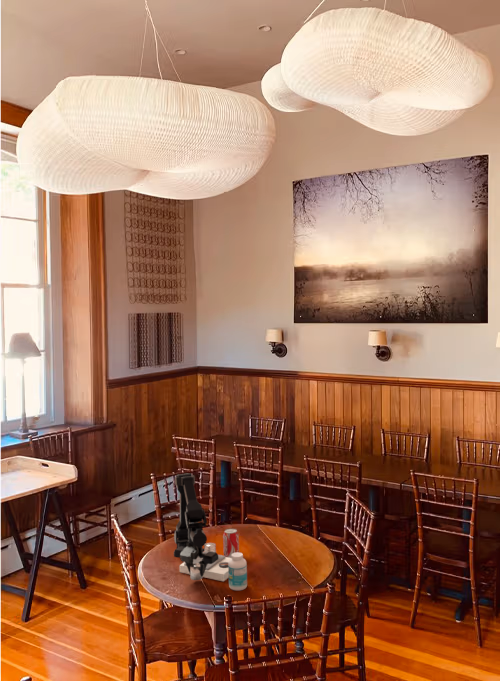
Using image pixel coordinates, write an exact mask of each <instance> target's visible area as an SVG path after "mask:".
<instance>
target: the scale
mask: <svg viewBox="0 0 500 681" xmlns="http://www.w3.org/2000/svg"><path fill="white" fill-rule="evenodd" d="M203 553H204V554H205V551H204V552H203ZM230 559H232V558H228V557H225V556H224V554H223V555H222V554H218V560H217V561H215V562H214V563H212V564H208V565H207V567H206V569H205V572H204V574H203V578H205V579H206V578H207V579H210V580H215V581H220V582H225V581H227V579H229V570H228V562H229V560H230ZM200 561H202V559H201V558H198V557H197V559H196V560H194V559H193V564H194V563H199V562H200ZM179 572H180V573H183V574H187V575H190V573H189V570H188V568H187V565H186V563H185V562H182V563H181V564H179Z"/></svg>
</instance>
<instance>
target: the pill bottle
mask: <svg viewBox="0 0 500 681" xmlns="http://www.w3.org/2000/svg"><path fill="white" fill-rule="evenodd" d="M231 558H232V559H230V560H229V562H228V570H229V578H228V587H229V588H230V590H232V591H243V590H245V589H246V588H247V586H248V568H247V567H248V565H247V563H248V562H247V560H246V559H245V558H244V555H243V553H242V552H240V551H239V552H236V553H233V554H232V555H231Z"/></svg>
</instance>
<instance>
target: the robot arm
mask: <svg viewBox="0 0 500 681" xmlns="http://www.w3.org/2000/svg"><path fill="white" fill-rule="evenodd" d="M174 485H175V486H176V488H177V491H178V493H179V520H178V523H177V524H176V527H175V529H176V530H174V535H173V539H174V543H175V545H176V549H174V551H173V557H174V558H177V559H178V558H179V559H180V560H181V562H182V563H184V562H185V563H186V565H187V568H188V570H189V573H190V565H191V564H193V559H194V560H196V559H197V557H198V558H201V559H202V561H200V562H199V564H200V573H201V577H202V576H203V574H204V572H205V569H206V567H207V565H208V564H212V563H214V562H215V561H217V560H218V555H219V554H218V553H217V551H216V552H208V553H207V554H204V553H203V552H205V551H204V545H205V544H206V543H207V542H208V537H207V535H206V533H205V531H204V529H203V527H207V522H208V521H207V514H206V511H205V509H203V507H202V504H201V503H199V502H198V499H197V494H196V489H195V485H196V476H195V475H193V474H191V472H190V473H180V474H179V473H178V474H177V475H176V476H175V477H174Z"/></svg>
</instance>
